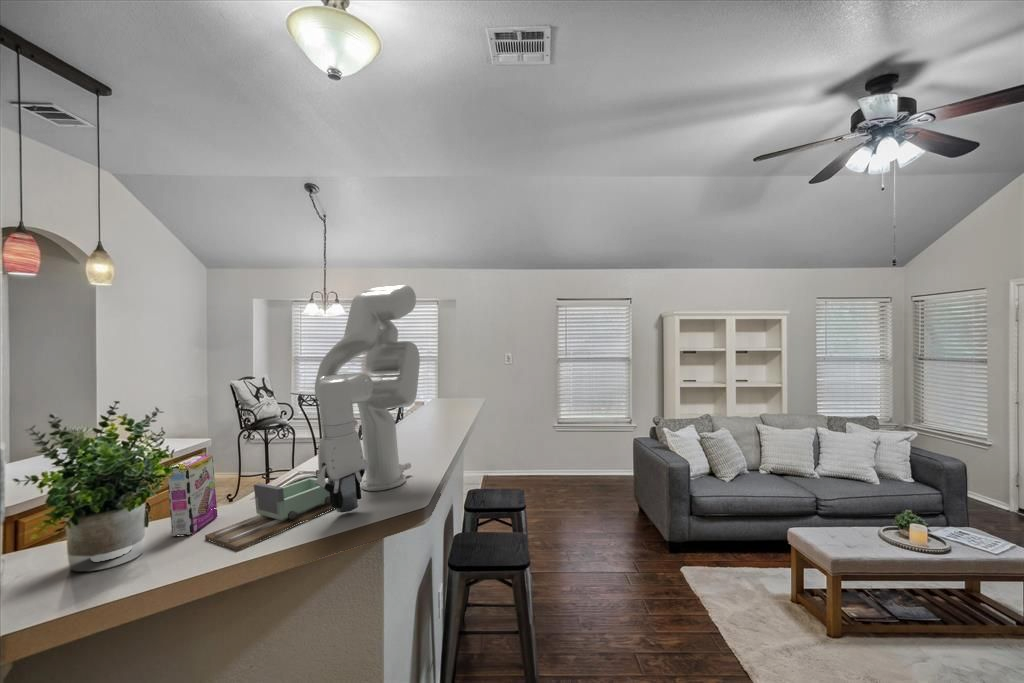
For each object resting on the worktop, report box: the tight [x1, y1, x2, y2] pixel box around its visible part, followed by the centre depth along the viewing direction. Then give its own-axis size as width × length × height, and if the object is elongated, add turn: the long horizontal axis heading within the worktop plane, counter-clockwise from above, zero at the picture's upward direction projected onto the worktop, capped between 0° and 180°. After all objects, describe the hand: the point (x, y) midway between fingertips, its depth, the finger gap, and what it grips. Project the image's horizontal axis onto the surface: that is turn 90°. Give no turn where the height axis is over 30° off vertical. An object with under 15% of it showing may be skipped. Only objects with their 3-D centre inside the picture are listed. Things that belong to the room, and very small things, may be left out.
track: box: [204, 502, 334, 552], centre depth 114 cm, size 28×14×3 cm, turn 147°
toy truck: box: [253, 477, 331, 520], centre depth 118 cm, size 15×12×8 cm
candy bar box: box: [167, 454, 218, 537], centre depth 115 cm, size 11×5×16 cm, turn 5°
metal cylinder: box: [333, 473, 359, 513], centre depth 114 cm, size 5×5×8 cm
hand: (346, 502), depth 114 cm, fingers closed on metal cylinder, 5 cm apart
